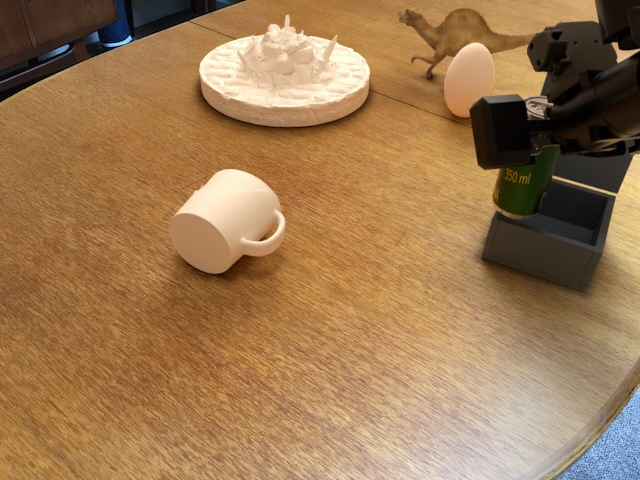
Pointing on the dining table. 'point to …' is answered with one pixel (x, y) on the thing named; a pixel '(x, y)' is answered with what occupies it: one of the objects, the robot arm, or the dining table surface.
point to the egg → (469, 78)
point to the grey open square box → (555, 236)
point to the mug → (227, 221)
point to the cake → (284, 78)
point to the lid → (592, 164)
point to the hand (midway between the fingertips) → (525, 148)
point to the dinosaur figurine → (458, 34)
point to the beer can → (527, 175)
